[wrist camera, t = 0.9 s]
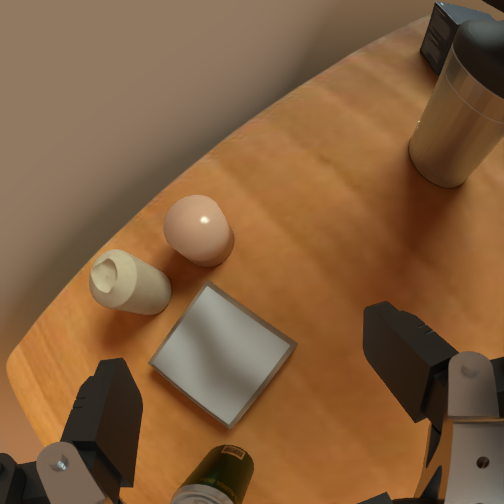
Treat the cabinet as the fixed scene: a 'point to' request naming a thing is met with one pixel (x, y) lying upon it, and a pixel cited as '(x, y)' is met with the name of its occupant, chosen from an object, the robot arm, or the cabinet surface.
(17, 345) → the cabinet surface
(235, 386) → the podium
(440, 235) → the cabinet surface
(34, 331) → the cabinet surface
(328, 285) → the cabinet surface
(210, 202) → the peach rounded cylinder
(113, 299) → the candle
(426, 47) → the small box
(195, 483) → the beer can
